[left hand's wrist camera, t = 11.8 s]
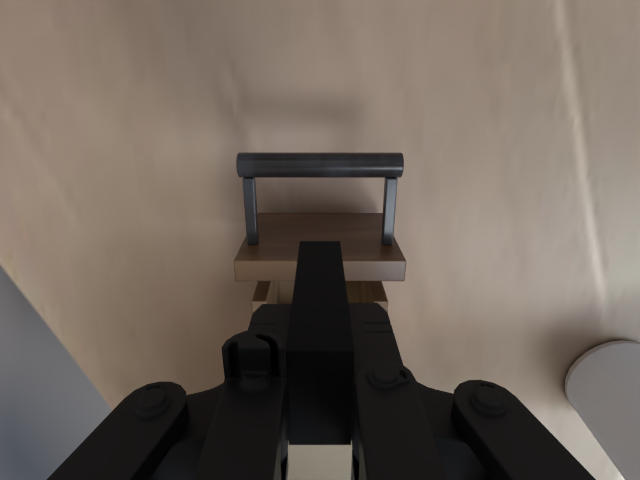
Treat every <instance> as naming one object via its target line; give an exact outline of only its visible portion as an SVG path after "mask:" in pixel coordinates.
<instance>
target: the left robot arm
mask: <svg viewBox="0 0 640 480" xmlns="http://www.w3.org/2000/svg"><path fill="white" fill-rule="evenodd" d="M222 356H223V365H224V374H225V381H224V383H223V384H221V385H219V386H217V387H215V388H213V389H210V390H207V391H203V392H199V393H195V394H191V395H186V391H185V390H184V389H183V388H182V387H181V385H178V384H175V383H173V382H156V383H151V384H147V385H145V386H143V387H141V388H139V389H136V390H134V391H133V392H132V393H131V394H129V395H128V396H127V397H126V398H124V400H123V401H122V402H121V403H120V404H119V405H118V406H117V407H116V408H115V409H114V410H113V411H112V412H111V413H110V414H109V415H108V416H107V417H106V418H105V419H104V420H103V421H102V423H101V424H100V425H99V426H98V427H97V428H96V429H95V430H94V431H93V432H92V433H91V434H90V435H89V436H88V437H87V438H86V439H85V440H84V441H83V442H82V443H81V444H80V446H79V447H78V448H77V449H76V450H75V451H74V452H73V453H72V454H71V455H70V456H69V457H68V458H67V459H66V460H65V461H64V462H63V463H62V464H61V465H60V466H59V468H57V470H56V471H55V472H54V473H53V474H52V475H51V476H50V477H49V478H48V479H47V480H287V479H288V467H289V465H288V443H289V445H351V441H352V465H351V480H596V479H595V478H594V477H593V476H592V475H591V474H590V473H589V472H588V471H587V470H586V469H585V468H584V467H583V466H582V465H581V464H580V463H579V462H578V461H577V460H576V459H575V458H574V457H573V456H572V455H571V453H570V452H569V451H568V450H567V449H566V448H565V447H564V446H563V445H562V444H561V443H560V442H559V441H558V440H557V439H556V438H555V437H554V436H553V435H552V434H551V433H550V432H549V431H548V430H547V429H546V428H545V426H544V425H543V424H542V423H541V422H540V421H539V420H538V419H537V418H536V417H535V416H534V415H533V414H532V413H531V412H530V411H529V410H528V409H527V408H526V407H525V406H524V405H523V404H522V403H521V402H520V401H519V400H518V398H517V397H516V396H514V395H513V394H512V393H510V392H509V391H508V390H507V389H505V388H503V387H501V386H499V385H497V384H495V383H492V382H487V381H483V380H468V381H466V382H463V383H461V384H459V385H458V387H457V388H456V389H455V390H454V394H452V393H448V392H443V391H439V390H435V389H432V388H429V387H426V386H424V385H422V384H420V383H418V382H417V381H416V380H415V378H414V376H413V374H412V373H411V371H410V370H409V369H407V368H406V367H405V366H403V363H402V360H401V356H400V353H399V350H398V346H397V343H396V340H395V336H394V333H393V330H392V326H391V324H390V320H389V316H388V313H387V311H386V310H385V309H384V308H383V307H382V306H381V305H380V304H378V303H348V298H347V290H346V282H345V275H344V267H343V259H342V252H341V244H340V241H300V244H299V252H298V259H297V267H296V275H295V282H294V290H293V298H292V304H262V305H261V306H260V307H259V308H258V309H257V310H256V311H254V312H253V314H252V318H251V321H250V326H249V328H248V331H245V332H242V333H239V334H236V335H234V336H233V337H231V338H230V339H228V340H227V341H226V342H225V344H224V345H223V346H222Z"/></svg>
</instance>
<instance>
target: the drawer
mask: <svg viewBox="0 0 640 480" xmlns="http://www.w3.org/2000/svg"><path fill="white" fill-rule="evenodd" d="M236 166H237V173H238V176H239V177H244V178H243V191H244V205H245V219H246V233H247V236H246V238H245V240H244V242H243V244H242V246H241V248H240V250H239V252H238V254H237V256H236V258H235V260H234V268H235V280H236V281H258V283H257V286H256V290H255V293H254V296H253V299H252V314H253V312H254V311H256V310H257V309H258V308H259V307H260V306H261V305H262V304H292V298H293V290H294V282H295V275H296V267H297V259H298V252H299V244H300V241H340V244H341V252H342V259H343V267H344V275H345V282H346V290H347V298H348V303H378V304H380V305H381V306H382V307H383V308H384V309H385V310H386V311H387V312H388V300H387V296H386V293H385V290H384V287H383V284H382V281H404V280H405V268H406V260H405V258H404V256H403V254H402V252H401V250H400V248H399V246H398V244H397V242H396V240H395V238H394V236H393V234H394V220H395V206H396V192H397V178H396V177H401V176H402V174H403V168H404V159H403V154H402V153H238V155H237V161H236ZM255 177H385V185H384V202H383V214H382V213H258V214H257V200H256V183H255Z"/></svg>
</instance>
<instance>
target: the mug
mask: <svg viewBox="0 0 640 480" xmlns="http://www.w3.org/2000/svg"><path fill="white" fill-rule="evenodd" d="M565 393H566V397H567V399H568V401H569V402H570V404H571V405H572V406H573V408H574V409H575V410H576V412H577V413H578V415H579V416H580V417H581V419H582V420H583V422H584V423H585V424H586V426H587V427H588V429H589V430H590V431H591V433H592V434H593V435H594V437H595V438H596V440H597V441H598V442H599V444H600V445H601V447H602V448H603V449H604V451H605V452H606V454H607V455H608V456H609V458H610V459H611V461H612V462H613V463H614V465H615V466H616V468H617V469H618V470H619V472H620V473H621V475H622V476H623V477H624V479H625V480H640V343H638V342H633V341H623V340H621V341H612V342H607V343H604V344H601V345H598V346H596V347H594V348H592V349H590V350H589V351H587V352H585V353H584V354H583V355H582V356H580V357H579V358H578V359H577V360H576V361H575V362H574V364H573V365H572V366H571V368H570V369H569V371H568V373H567V376H566V378H565Z"/></svg>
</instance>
